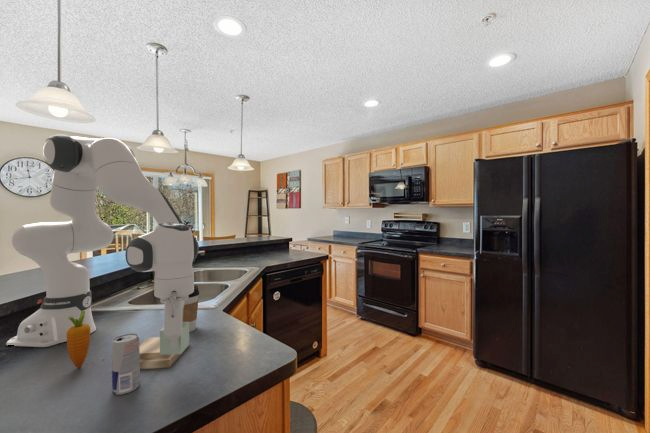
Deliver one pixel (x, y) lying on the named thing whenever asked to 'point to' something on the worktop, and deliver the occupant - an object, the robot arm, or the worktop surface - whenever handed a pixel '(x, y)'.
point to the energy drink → (125, 364)
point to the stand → (154, 355)
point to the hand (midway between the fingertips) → (174, 340)
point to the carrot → (78, 340)
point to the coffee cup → (191, 309)
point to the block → (182, 341)
